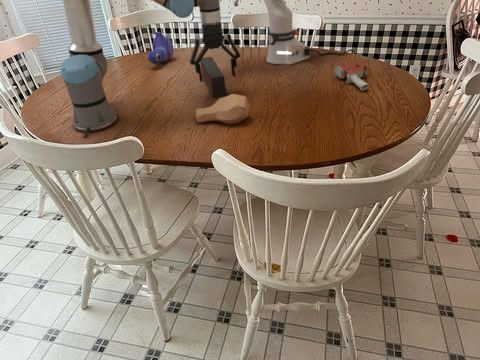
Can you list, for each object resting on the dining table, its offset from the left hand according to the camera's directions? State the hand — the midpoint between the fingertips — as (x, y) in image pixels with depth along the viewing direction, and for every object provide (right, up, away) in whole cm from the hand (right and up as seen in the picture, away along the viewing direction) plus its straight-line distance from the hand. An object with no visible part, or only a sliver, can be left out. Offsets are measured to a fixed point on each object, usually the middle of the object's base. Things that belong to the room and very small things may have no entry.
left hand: (217, 78), depth 145 cm
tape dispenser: (+57, +1, +7) cm, 58 cm away
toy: (-32, +19, +41) cm, 55 cm away
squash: (+3, -20, -16) cm, 26 cm away
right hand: (+3, +33, +8) cm, 34 cm away
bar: (-3, 0, +12) cm, 13 cm away
